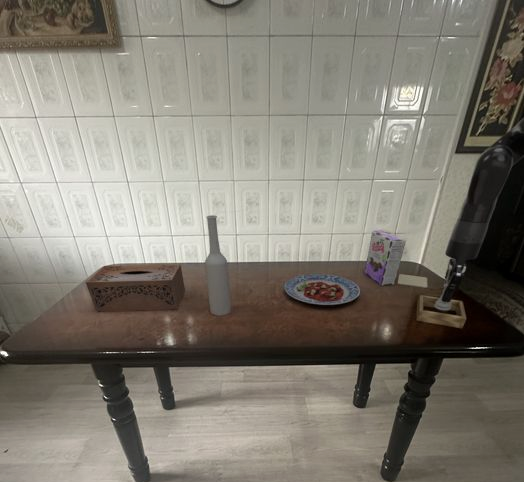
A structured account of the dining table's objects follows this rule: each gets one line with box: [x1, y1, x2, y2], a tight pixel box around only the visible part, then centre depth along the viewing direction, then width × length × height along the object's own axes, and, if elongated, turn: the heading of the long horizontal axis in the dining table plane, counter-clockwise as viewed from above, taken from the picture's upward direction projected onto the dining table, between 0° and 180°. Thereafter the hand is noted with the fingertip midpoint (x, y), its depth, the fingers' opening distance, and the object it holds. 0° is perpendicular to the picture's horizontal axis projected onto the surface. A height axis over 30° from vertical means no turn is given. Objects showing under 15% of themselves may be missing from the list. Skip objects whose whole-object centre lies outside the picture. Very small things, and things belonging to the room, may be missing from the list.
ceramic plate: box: [284, 273, 361, 306], centre depth 105 cm, size 26×26×3 cm
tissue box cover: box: [85, 263, 186, 312], centre depth 99 cm, size 26×14×10 cm, turn 92°
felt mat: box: [397, 273, 428, 289], centre depth 114 cm, size 10×10×1 cm
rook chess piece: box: [434, 282, 455, 312], centre depth 88 cm, size 4×4×8 cm
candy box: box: [363, 229, 407, 286], centre depth 111 cm, size 14×6×16 cm, turn 10°
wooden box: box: [415, 294, 467, 329], centre depth 91 cm, size 12×12×3 cm
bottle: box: [204, 214, 232, 316], centre depth 88 cm, size 7×7×28 cm
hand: (445, 298), depth 88 cm, fingers closed on rook chess piece, 3 cm apart
